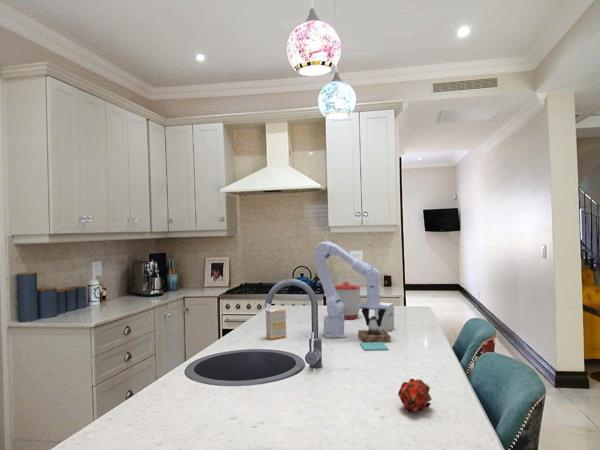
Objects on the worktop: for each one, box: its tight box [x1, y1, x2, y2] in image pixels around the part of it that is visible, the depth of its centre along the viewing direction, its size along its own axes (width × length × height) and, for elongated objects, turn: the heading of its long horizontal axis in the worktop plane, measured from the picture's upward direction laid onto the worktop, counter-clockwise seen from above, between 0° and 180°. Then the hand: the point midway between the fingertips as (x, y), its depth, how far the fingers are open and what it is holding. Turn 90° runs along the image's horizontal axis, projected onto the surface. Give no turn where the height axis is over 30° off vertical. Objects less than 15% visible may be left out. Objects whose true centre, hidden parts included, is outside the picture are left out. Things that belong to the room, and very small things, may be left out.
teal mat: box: [359, 342, 389, 352], centre depth 180 cm, size 10×10×1 cm
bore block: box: [357, 329, 392, 343], centre depth 193 cm, size 12×12×2 cm
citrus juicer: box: [334, 281, 361, 320], centre depth 239 cm, size 16×17×20 cm
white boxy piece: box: [373, 301, 395, 333], centre depth 211 cm, size 7×7×13 cm
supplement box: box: [265, 307, 287, 341], centre depth 197 cm, size 8×5×13 cm, turn 124°
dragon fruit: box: [397, 378, 432, 413], centre depth 119 cm, size 8×8×12 cm
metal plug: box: [367, 315, 379, 335], centre depth 193 cm, size 5×5×8 cm
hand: (373, 325), depth 193 cm, fingers closed on metal plug, 5 cm apart
